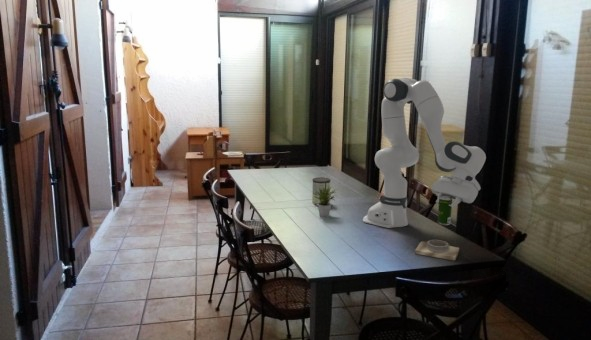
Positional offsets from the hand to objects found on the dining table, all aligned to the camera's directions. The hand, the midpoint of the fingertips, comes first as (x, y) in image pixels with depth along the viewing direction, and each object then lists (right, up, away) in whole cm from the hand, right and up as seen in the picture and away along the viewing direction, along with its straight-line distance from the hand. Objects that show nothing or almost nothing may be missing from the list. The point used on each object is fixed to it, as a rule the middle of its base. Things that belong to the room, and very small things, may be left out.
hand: (444, 204), depth 198 cm
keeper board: (-3, -20, 0) cm, 20 cm away
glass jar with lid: (-48, -5, +73) cm, 88 cm away
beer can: (+1, -8, +2) cm, 9 cm away
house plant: (-47, -10, +48) cm, 68 cm away
